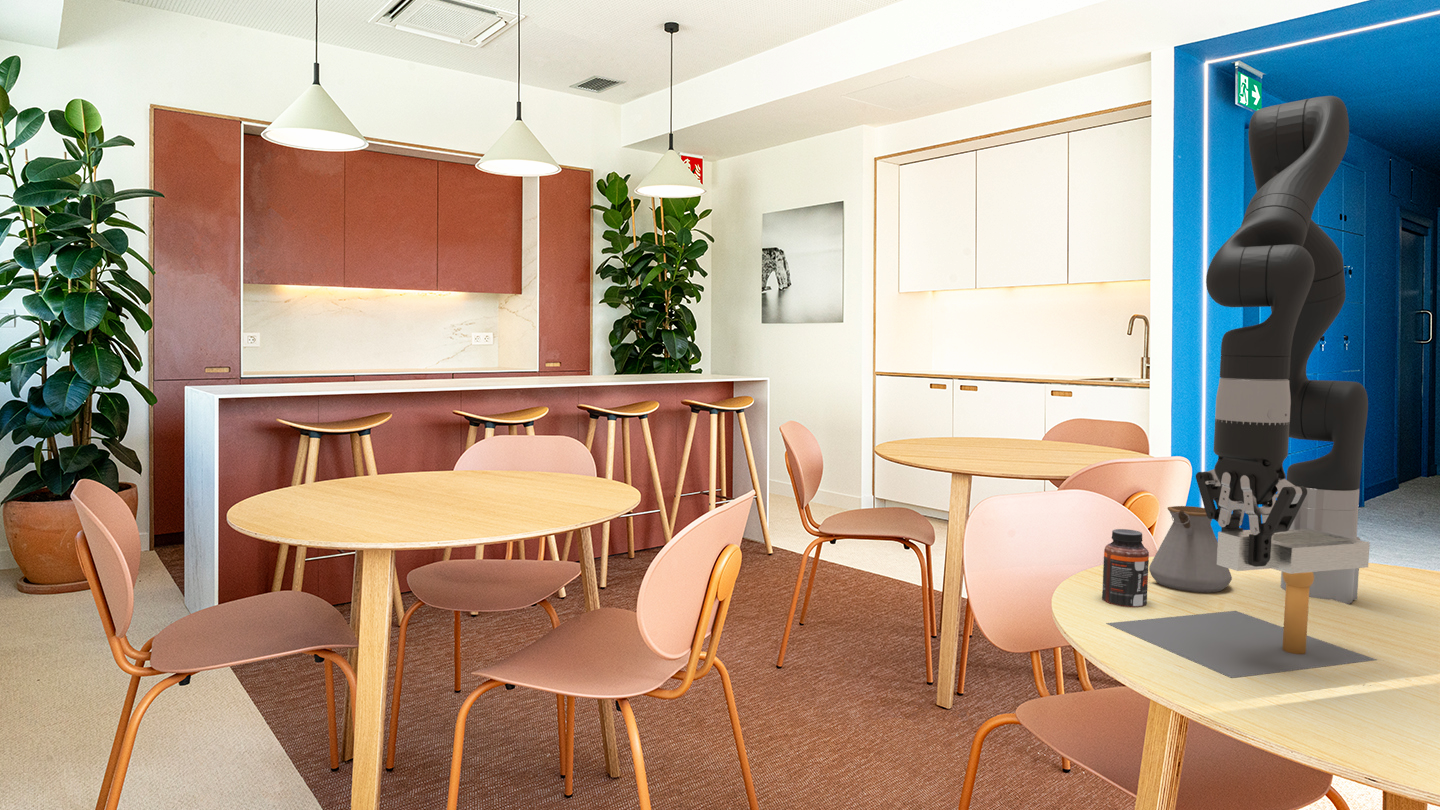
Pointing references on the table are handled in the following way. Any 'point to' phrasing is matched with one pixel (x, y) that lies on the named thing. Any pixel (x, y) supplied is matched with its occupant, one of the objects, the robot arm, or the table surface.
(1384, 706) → the table surface
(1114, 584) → the supplement bottle
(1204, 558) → the coffee pot
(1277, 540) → the steel link
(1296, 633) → the pin
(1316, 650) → the rubber mat
